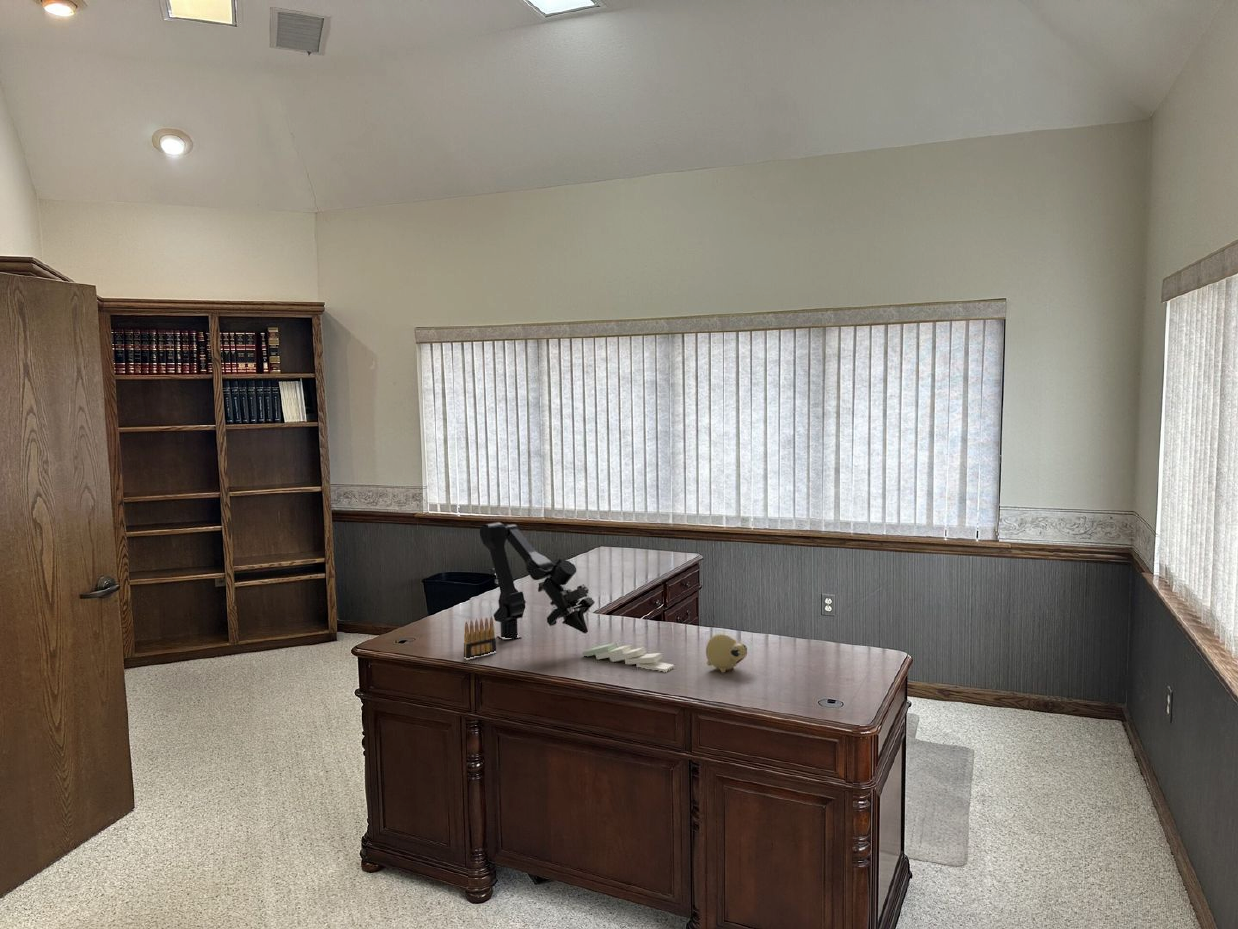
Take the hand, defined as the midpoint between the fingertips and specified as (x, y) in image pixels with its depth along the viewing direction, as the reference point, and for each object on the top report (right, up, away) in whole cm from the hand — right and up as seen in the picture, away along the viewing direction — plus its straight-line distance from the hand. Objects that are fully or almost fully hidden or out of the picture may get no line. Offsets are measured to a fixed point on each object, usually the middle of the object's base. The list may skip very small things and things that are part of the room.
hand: (586, 632), depth 270 cm
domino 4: (+13, -7, -8) cm, 17 cm away
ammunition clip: (-33, -8, +1) cm, 34 cm away
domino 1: (0, -6, 0) cm, 6 cm away
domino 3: (+9, -7, -5) cm, 12 cm away
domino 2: (+5, -6, -3) cm, 8 cm away
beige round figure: (+42, -8, -17) cm, 46 cm away
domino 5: (+17, -8, -10) cm, 21 cm away
